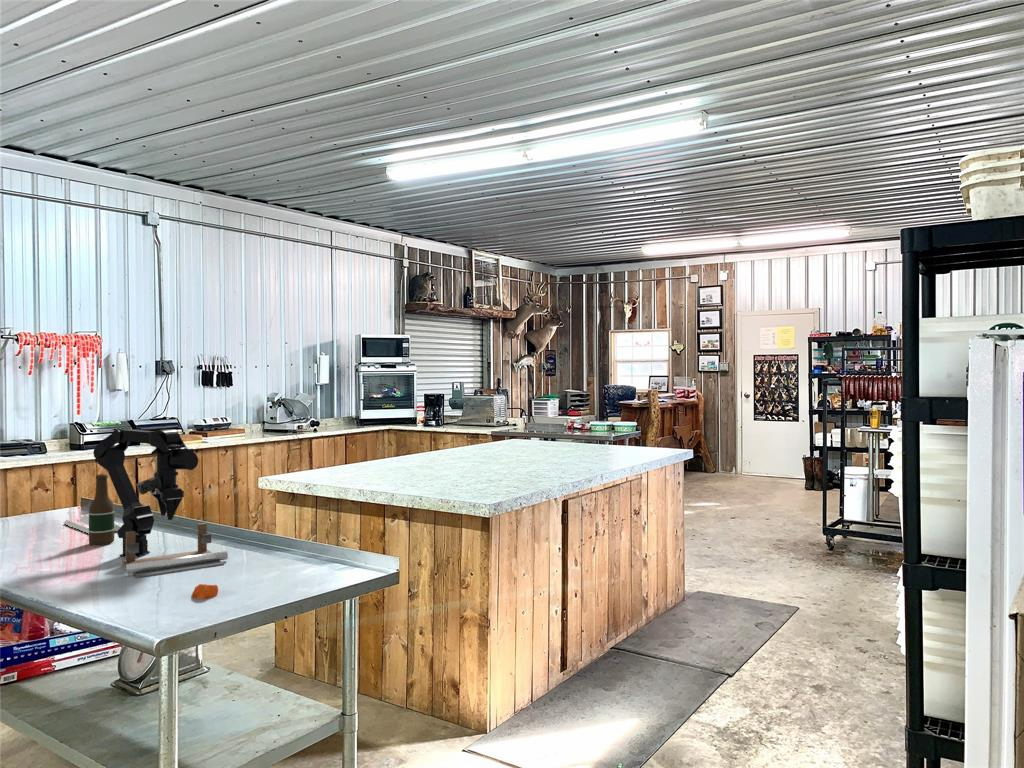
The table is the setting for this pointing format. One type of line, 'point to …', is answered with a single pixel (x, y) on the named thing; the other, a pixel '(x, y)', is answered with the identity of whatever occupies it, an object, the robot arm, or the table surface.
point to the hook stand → (134, 548)
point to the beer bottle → (101, 514)
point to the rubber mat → (178, 569)
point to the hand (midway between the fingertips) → (166, 517)
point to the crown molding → (86, 521)
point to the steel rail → (176, 562)
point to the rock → (205, 591)
